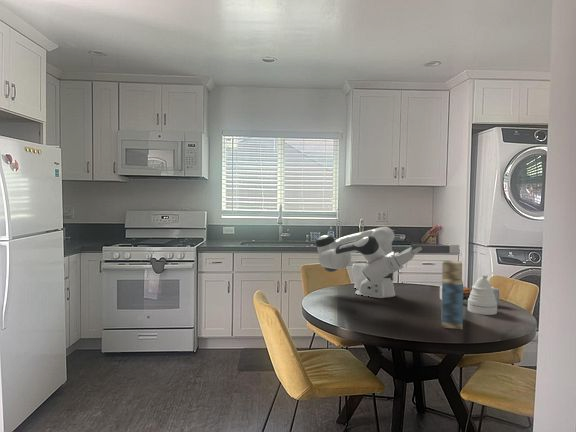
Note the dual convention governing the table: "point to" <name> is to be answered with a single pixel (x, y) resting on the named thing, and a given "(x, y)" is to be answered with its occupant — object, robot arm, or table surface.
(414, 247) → the dark gray bar
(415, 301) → the table surface
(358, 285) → the cup
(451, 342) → the table surface
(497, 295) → the medicine box
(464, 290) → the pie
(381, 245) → the robot arm
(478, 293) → the honey pot
